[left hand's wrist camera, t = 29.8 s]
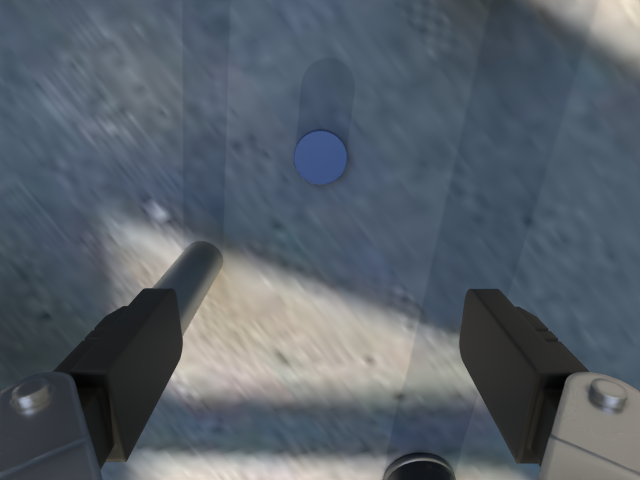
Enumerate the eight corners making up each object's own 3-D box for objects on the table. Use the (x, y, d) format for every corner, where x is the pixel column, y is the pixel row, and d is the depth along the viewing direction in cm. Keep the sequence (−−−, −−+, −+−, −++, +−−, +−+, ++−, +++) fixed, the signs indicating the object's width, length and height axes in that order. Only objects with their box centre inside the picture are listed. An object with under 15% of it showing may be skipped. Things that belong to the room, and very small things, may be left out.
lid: (356, 152, 39) (358, 154, 38) (324, 191, 40) (324, 195, 39) (316, 118, 38) (316, 119, 36) (284, 159, 39) (283, 162, 38)
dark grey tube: (179, 271, 43) (82, 395, 26) (187, 236, 42) (90, 342, 24) (217, 281, 44) (147, 411, 26) (226, 247, 43) (159, 360, 25)
